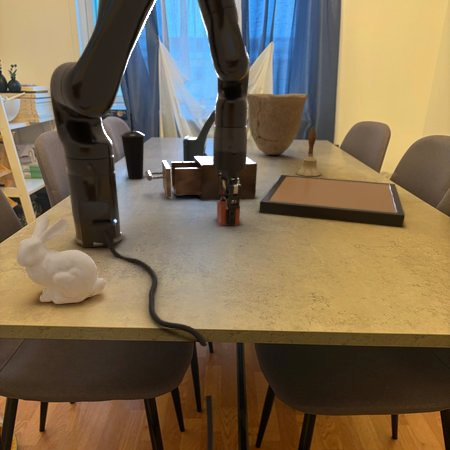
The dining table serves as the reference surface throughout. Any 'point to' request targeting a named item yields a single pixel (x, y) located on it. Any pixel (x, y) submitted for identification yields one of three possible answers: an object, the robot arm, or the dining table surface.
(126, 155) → the drinking cup
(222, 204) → the block
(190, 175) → the drawer
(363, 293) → the dining table surface
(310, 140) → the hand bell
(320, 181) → the cork board
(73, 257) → the rabbit
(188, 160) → the dark grey curved piece
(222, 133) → the robot arm
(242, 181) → the cabinet
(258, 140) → the clay pot
